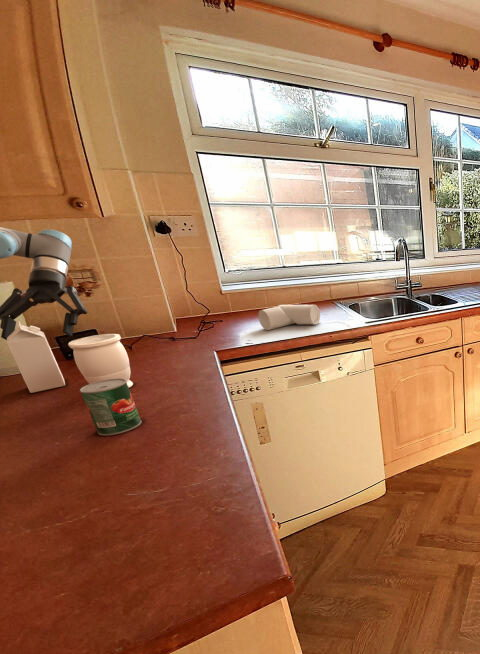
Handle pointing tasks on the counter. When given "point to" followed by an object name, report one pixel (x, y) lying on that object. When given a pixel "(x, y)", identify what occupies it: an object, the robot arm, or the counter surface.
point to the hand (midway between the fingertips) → (37, 336)
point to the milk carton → (34, 359)
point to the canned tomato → (111, 406)
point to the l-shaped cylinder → (288, 316)
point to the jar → (101, 358)
